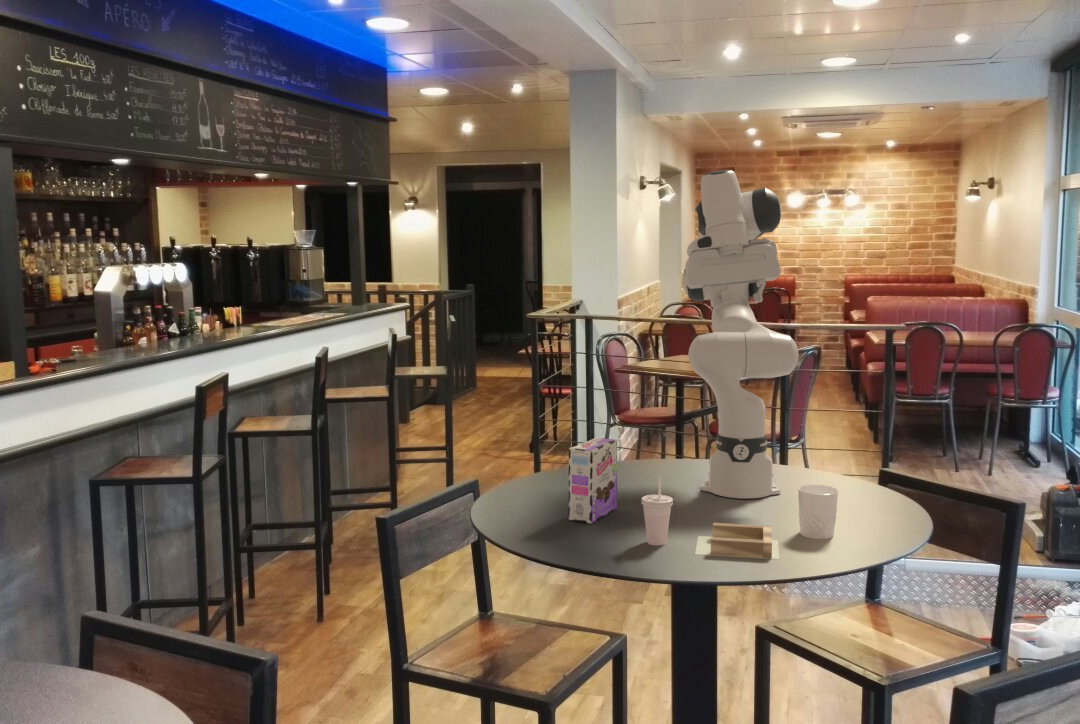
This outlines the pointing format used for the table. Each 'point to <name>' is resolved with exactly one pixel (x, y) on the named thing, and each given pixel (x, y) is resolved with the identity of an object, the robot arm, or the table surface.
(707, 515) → the table surface
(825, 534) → the white cup
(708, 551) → the mat
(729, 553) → the rack
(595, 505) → the candy box
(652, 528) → the smoothie
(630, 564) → the table surface
